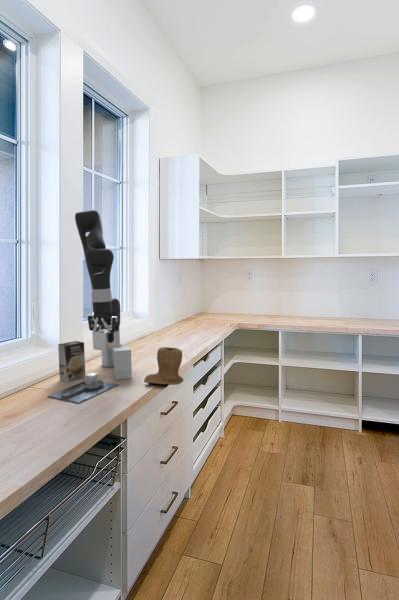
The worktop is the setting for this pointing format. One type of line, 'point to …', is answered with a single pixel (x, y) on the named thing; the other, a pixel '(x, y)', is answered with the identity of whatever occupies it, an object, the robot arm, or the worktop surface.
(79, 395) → the grey base plate
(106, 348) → the brushed steel cube
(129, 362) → the supplement box
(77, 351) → the coffee box
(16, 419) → the worktop surface
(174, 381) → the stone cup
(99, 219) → the robot arm
